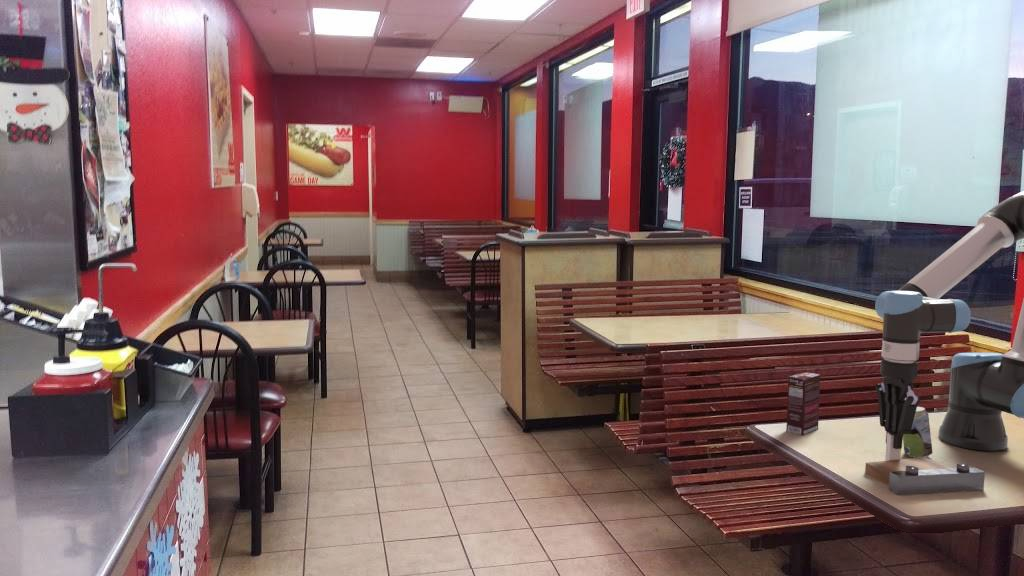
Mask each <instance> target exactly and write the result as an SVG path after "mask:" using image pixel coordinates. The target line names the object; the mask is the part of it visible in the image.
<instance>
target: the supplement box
mask: <svg viewBox="0 0 1024 576" xmlns="http://www.w3.org/2000/svg"><path fill="white" fill-rule="evenodd" d="M787 382H788V383H787V384H788V385H787V404H786V405H787V407H786V410H787V411H786V427H785V428H786V429H785V430H786V432H788V433H791V434H792V433H793V434H796V435H800V436H805V435H808V434H810V433H812V432H816V431H818V430H819V421H820V420H819V418H820V417H819V416H820V415H819V412H820V391H821V390H820V389H821V388H820V387H821V385H820V383H821V374H820V373H813V372H806V371H804V372H801V373H797V374H793V375H789V376H788V381H787Z"/></svg>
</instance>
